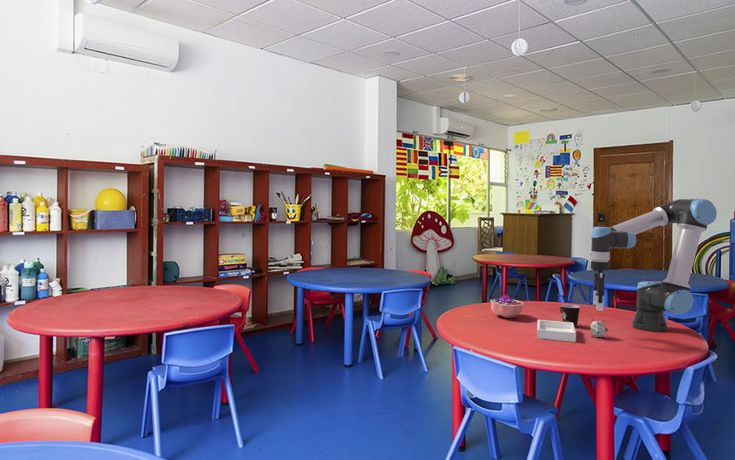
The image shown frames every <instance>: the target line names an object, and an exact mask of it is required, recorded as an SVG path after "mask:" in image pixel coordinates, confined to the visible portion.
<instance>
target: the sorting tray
mask: <svg viewBox="0 0 735 460" xmlns="http://www.w3.org/2000/svg"><path fill="white" fill-rule="evenodd" d="M536 328H537V329H536V339H538V340H550V341H559V342H560V341H561V342H562V341H563V342H571V343H577V341H576V340H577V332H576V327H575V328H574V324H573V323H572V322H563V321H557V320H546V319H543V320H542V319H537V327H536Z"/></svg>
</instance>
